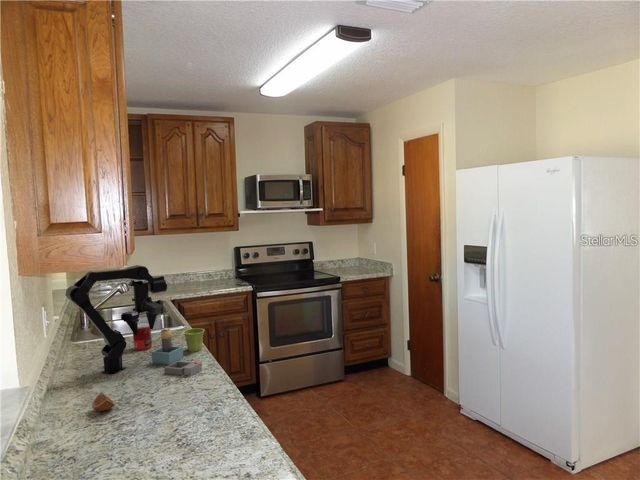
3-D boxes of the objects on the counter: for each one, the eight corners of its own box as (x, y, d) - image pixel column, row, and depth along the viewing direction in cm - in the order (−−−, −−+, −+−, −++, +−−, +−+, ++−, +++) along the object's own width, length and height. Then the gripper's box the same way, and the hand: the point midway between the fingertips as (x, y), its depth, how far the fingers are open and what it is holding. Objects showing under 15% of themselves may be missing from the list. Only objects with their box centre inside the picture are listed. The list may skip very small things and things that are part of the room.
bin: (169, 365, 196) (168, 353, 195) (152, 363, 199) (151, 351, 198) (183, 358, 204) (182, 346, 203) (166, 356, 207) (165, 345, 207)
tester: (190, 376, 182) (189, 366, 181) (164, 373, 186) (164, 364, 186) (202, 369, 189) (202, 360, 189) (177, 366, 193) (177, 357, 193)
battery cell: (172, 360, 200) (169, 329, 198) (161, 361, 199) (159, 330, 198) (173, 357, 204) (171, 327, 203) (163, 358, 203) (161, 327, 202)
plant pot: (208, 346, 220) (207, 328, 219) (201, 353, 210) (200, 333, 210) (188, 346, 221) (187, 328, 220) (181, 353, 211) (179, 334, 211)
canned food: (148, 350, 217) (146, 326, 217) (131, 351, 218) (129, 327, 217) (154, 345, 225) (153, 322, 224) (138, 346, 225) (136, 323, 224)
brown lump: (117, 412, 153) (116, 396, 152) (95, 418, 149) (93, 402, 149) (112, 403, 160) (111, 389, 159) (90, 409, 156) (89, 394, 156)
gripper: (140, 300, 187) (143, 339, 188) (171, 291, 204) (174, 327, 205) (118, 299, 191) (121, 338, 192) (150, 290, 208) (153, 326, 209)
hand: (144, 332), depth 200 cm, fingers open, 9 cm apart
